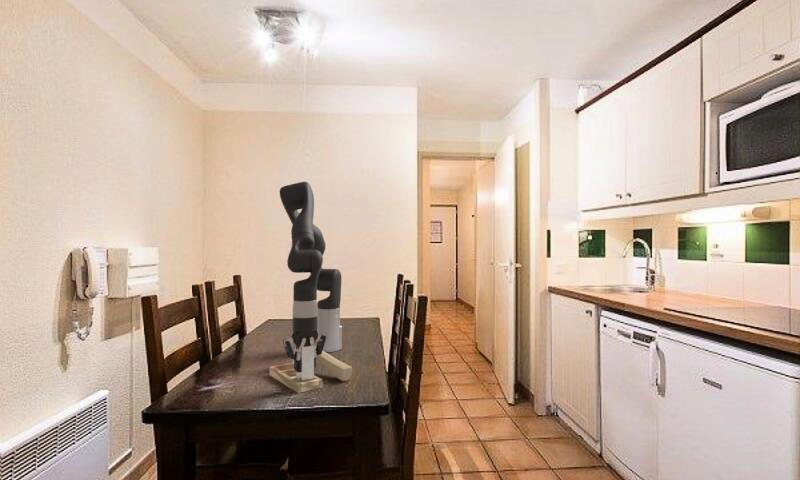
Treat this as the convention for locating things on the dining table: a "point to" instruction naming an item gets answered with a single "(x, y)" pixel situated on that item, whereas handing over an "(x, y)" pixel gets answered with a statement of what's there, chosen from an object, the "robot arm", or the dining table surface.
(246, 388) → the dining table surface
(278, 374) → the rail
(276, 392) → the dining table surface
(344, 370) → the hammer
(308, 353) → the steel peg
